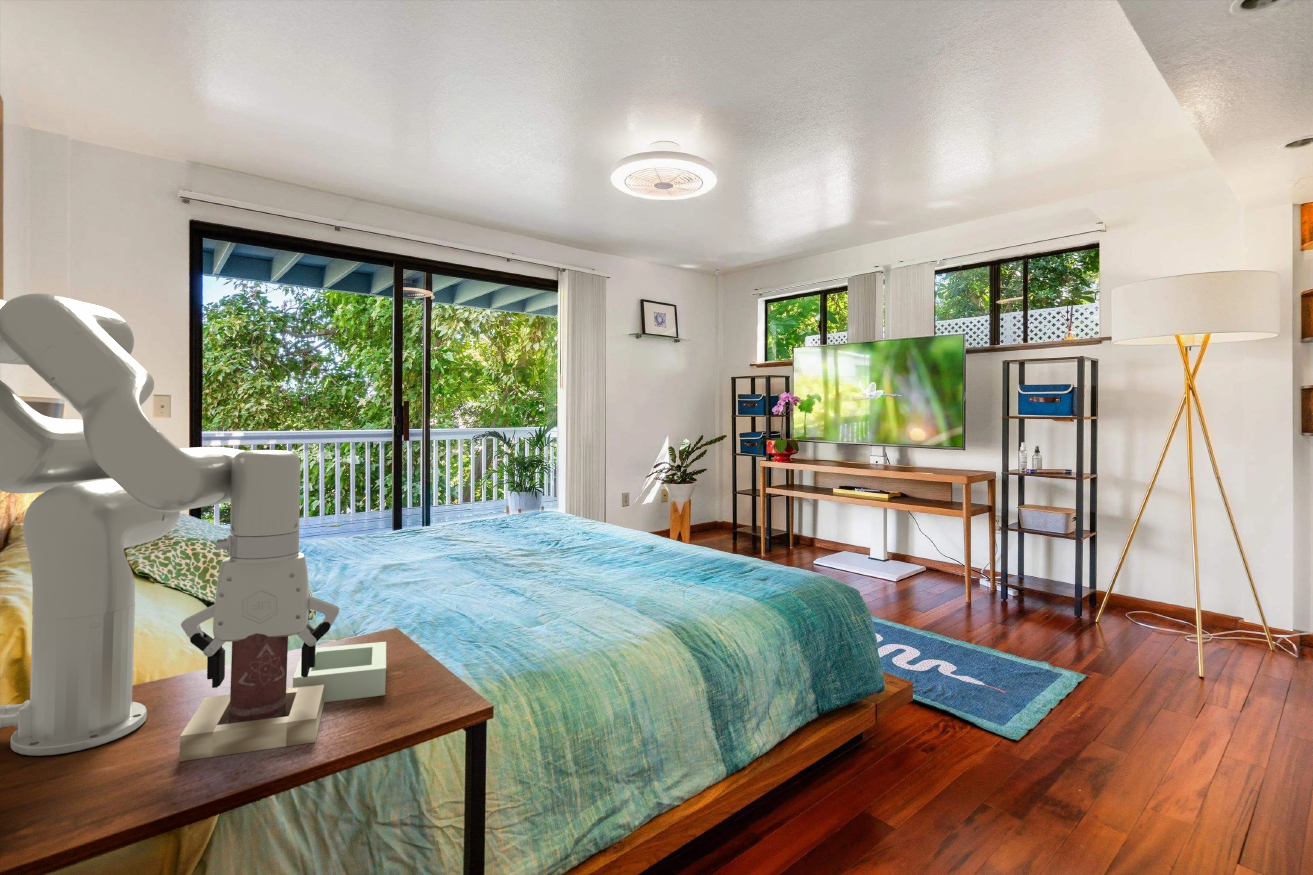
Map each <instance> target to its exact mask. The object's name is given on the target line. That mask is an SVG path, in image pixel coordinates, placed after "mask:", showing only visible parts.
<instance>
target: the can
mask: <svg viewBox="0 0 1313 875" xmlns="http://www.w3.org/2000/svg"><path fill="white" fill-rule="evenodd" d="M288 646H289V636H286V637H276V638H275V637H268V636H266V635H265V634H258V633H256V634H253V635H250V636H248V637H246V638H245V639H243V640H240V641H232V642H231V663H230V665H231V666H230V692H229V695H230V721H229V724H231V723H239V722H247V721H255V720H262V719H270V718H278V717H286V715H285V712H286V688H287V681H288V680H287V679H288V677H287V673H288V653H289V652H288V649H289V648H288Z"/></svg>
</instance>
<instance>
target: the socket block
mask: <svg viewBox="0 0 1313 875" xmlns="http://www.w3.org/2000/svg"><path fill="white" fill-rule="evenodd" d="M324 704H325V702H324V684H322V685H313V686H304V687H295V688H293V687H288V688H287V687H286V712H285V717H278V718H270V719H262V720H255V721H247V722H239V723H231V724H229V721H230V694H223V695H215V696H207V697H204V699H203V700H202V702H201V703H200V705H199V706H198V707H197V710H196V711H195V712H194V713H193V715H192V717H191V718H190V719H189V722H188V723H187V725H186V726H185V728H184V729H183V730H182V732H181V734H180V736H179V755H178V757H179V760H178V761H179V762H185V761H192V760H193V761H194V760H199V759H206V758H214V757H219V756H227V755H233V754H234V755H235V754H242V753H249V752H256V751H264V750H270V749H276V748H284V747H291V746H298V745H305V744H310V743H316V742H317V737H318V733H319V728H320V723H321V718H322V715H323V714H322V713H323V709H324Z"/></svg>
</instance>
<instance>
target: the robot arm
mask: <svg viewBox="0 0 1313 875" xmlns="http://www.w3.org/2000/svg"><path fill="white" fill-rule="evenodd" d="M134 346H135V338H134V333H133V331H132V328H131V327H130V325H129V324H128V322H127V320H125V319H124V318H123V317H122V316H121V315H119V314H118V313H116V312H115V311H113V310H111V309H110V308H106V307H104V306H101V305H98V304H94V303H89V302H84V301H80V300H77V299H73V298H70V297H69V298H68V297H65V296H61V295H56V294H51V293H50V294H48V293H27V294H24V295H23V294H22V295H20V296H16V297H14V298H11V299H10V300H7V299H3V298H2V299H1V298H0V364H9V365H20V366H21V365H23V366H24V365H25V366H28V367H29V368H31V369H32V370H33V371H34V372H35V373H36V374H37V375H38V376H39V377H40V378H41V379H42V380H43V381H45V382H46V383H47V384H48V385H49V386H50V387H51V388H52V389H53V390H54V391H55V392H56V393H57V394H59V395H60V396H61V397H62V398H63V399H64V400H65V401H66V402H67V403H68V404H69V405H70V406H71V407H72V408H73V409H75V411H77V413H78V414H79V415H80V416H81V417H82V419H81V418H67V417H66V418H65V417H64V418H63V417H61V418H60V417H59V418H57V417H51V416H47V415H43V414H41V413H39V412H38V411H37V410H35V409H34V408H32V406H30V405H29V404H28V403H26V401H24V400H23V399H22V398H21V397H20V396H19V395H18V394H17V393H16V392H15V391H14V390H13V389H12V388H11V387H10V386H9V385H8V384H6V383H5V382H3V380H1V379H0V491H1V492H4V493H9V494H34V493H35V494H36V493H40V494H39V495H38V496H37V497H36V498H35V499H34V500H33V501H32V502H31V503H30V504H29V506H28V507H27V509H26V511H25V513H24V516H23V520H22V521H23V523H22V524H23V525H22V529H23V531H22V532H23V537H24V543H25V546H26V549H27V550H26V551H27V554H28V558H29V562H30V571H31V580H32V581H31V584H32V586H31V587H32V606H31V608H32V609H31V610H32V612H31V614H32V620H31V621H32V625H31V626H32V628H31V654H30V655H31V659H30V694H29V699H27V700H25V701H24V702H23V703H19V704H1V705H0V729H1V728H5V727H12V726H13V727H14V728H16V730H15V731H14V732H13V734H12V735H11V737H10V749H11V750H12V751H13V752H14V753H17V754H20V755H26V756H40V757H41V756H54V755H61V754H68V753H73V752H78V751H79V752H80V751H82V750H86V749H91V748H95V747H97V746H101V745H105V744H106V743H107V744H108V743H109V742H112V741H115V740H118V739H119V738H122V737H124V736H126V735H128V734H130V733H132V732H134V731H135V730H137V729H138V728H140V727H141V726H142V725H143V724H144V722H146V720H147V718H148V717H147V716H148V709H147V707H146V706H145V705H144V704H142V703H140V702H136V701H133V682H134V679H133V678H134V675H133V674H134V648H135V647H134V646H135V644H134V643H135V621H136V620H135V619H136V618H135V617H136V616H135V615H136V582H135V577H134V574H133V571H132V570H133V569H132V568H131V566H130V564H129V561H128V559H127V556H126V554H125V549H127V548H132V547H135V546H139V545H144V544H146V543H149V542H152V541H155V540H158V539H160V538H163V536H165V535H167V534H168V533H169V532H170V531H172V530H173V528H174V527H175V526H176V524H177V523H178V521H179V518H180V514H181V512H183V511H187V510H192V509H198V508H202V507H211V506H214V505H215V506H217V505H221V504H225V503H230V525H229V526H230V528H229V529H230V532H229V535H228V536H227V537H223V538H217V539H216V541H215V542H216V543H215V548H216V551H217V550H219V551H220V550H222V551H226V552H227V553H228V557H226V558H224V559H222V561H221V564H220V567H219V571H218V577H217V583H216V590H215V598H214V604H212V605H210V606H208V607H207V608H204V609H202V610H200V611H198V612H196V613H194V614H192V615H190V616H188V617H186V618H185V619H184V620H182V622H181V623H180V626H181V628H182V630H183V632H184V633H185V635H186V636H187V637H188V638H189V641H190V643H191V644H192V645H193V646H194V647H196V648H197V649H199V650H200V651H201V652H203V655H204V656H205V657H207V658H206V660H207V662H206V679H207V680H212V681H211V688H212V689H215V688H219V687H221V684H222V683H223V682H224V680H225V677H226V676H225V674H226V650H225V648H224V647H223V645H224V644H225V643H228V642H231V643H232V641H240V640H243V639H245V638H246V637H248V636H250V635H253V634H256V633H258V634H265V635H266V636H268V637H275V638H276V637H286V636H288V637H290V636H297V637H298V638H300V639H301V640H302V641H303V643H302V647H301V654H300V657H301V677H302V676H303V677H308V673H309V670H310V668H314V667H315V651H316V648H317V647H316V645H317V642H319V640H321V639H322V637H324V636H325V635H326V634H327V633H328V632H329V631H330V629H331V628H332V626H333V624H334V623H335V620H336V619H337V617H338V615H339V614H340V607H339V606H338V605H335V604H333V603H329V602H327V601H325V600H323V599H319V598H317V597H315V596H311V595H310V584H309V583H310V582H309V574H308V573H309V572H308V565H307V561H306V558H305V556H306V555H305V554H304V553H303V552H299V550H300V505H301V502H300V500H301V496H300V495H301V460H300V457H299V456H298V455H297V454H296V453H295V452H293V451H290V450H284V449H283V450H280V449H279V450H277V449H253V450H249V449H248V450H244V449H236V448H230V447H221V446H207V447H203V446H200V447H199V446H198V447H197V446H196V447H194V446H193V447H180V448H179V447H178V446H177V445H175V444H174V443H173V442H172V441H170V440H169V439H168V437H166V436H165V435H164V433H162V432H161V430H159V429H158V428H157V427H156V426H155V425H154V424H153V423H152V422H151V421H150V419H149V418H148V417H147V416H146V414H145V413H144V411H143V409H142V405H143V404H144V403H145V402H146V401H147V400H148V399H149V398H150V396H151V395H152V394H153V391H154V388H155V380H154V378H153V376H152V375H151V374H150V372H148V370H147V369H145V368H144V367H143V366H142V365H141V364H140V363H139V362H138V361H137V360H136V359H134V357H132V356H131V354H132V352H133V349H134ZM310 610H313V611H315V612H318V613H320V614H322V615H324V618H323V620H322V621H321V622H320V623H319V624H318V625H317V626H316V627H315V628H314V627H313V626H312V625H311V624H310V623H309V622H308V621H309V619H310V612H311V611H310ZM212 618H213V622H212V631H213V632H212V633H213V637H214V638H213V637H211V636H210V635H209V634H207V633H206V632H204V631H203V630H202V628H201V626H200V624H203V623H205V622H206V621H208V620H210V619H212Z"/></svg>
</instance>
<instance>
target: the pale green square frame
mask: <svg viewBox="0 0 1313 875" xmlns="http://www.w3.org/2000/svg"><path fill="white" fill-rule="evenodd" d="M386 677H387V641H377V642H369V643H366V642H365V643H357V644H356V643H355V644H345V645H335V646H333V645H332V646H322V647H316V651H315V667H314V668H310V670H309V673H308V677H303V676H302V677H301V656H300V658H299V661H298V663H297V666H296V669H295V671H294V674H293V676H292V688H295V687H304V686H313V685H322V684H324V703H329V702H337V701H346V700H356V699H362V698H372V697H378V696H379V697H380V696H385V695H386V680H387V678H386Z"/></svg>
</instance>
